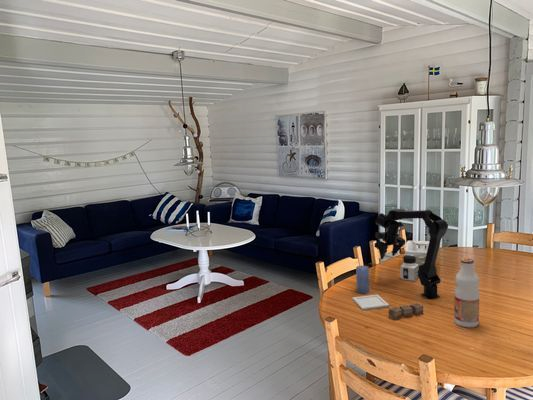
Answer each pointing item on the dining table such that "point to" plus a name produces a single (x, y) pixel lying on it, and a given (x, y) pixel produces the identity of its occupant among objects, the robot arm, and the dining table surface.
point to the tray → (370, 302)
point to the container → (409, 268)
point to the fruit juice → (466, 295)
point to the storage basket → (417, 250)
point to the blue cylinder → (362, 279)
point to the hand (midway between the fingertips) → (387, 257)
